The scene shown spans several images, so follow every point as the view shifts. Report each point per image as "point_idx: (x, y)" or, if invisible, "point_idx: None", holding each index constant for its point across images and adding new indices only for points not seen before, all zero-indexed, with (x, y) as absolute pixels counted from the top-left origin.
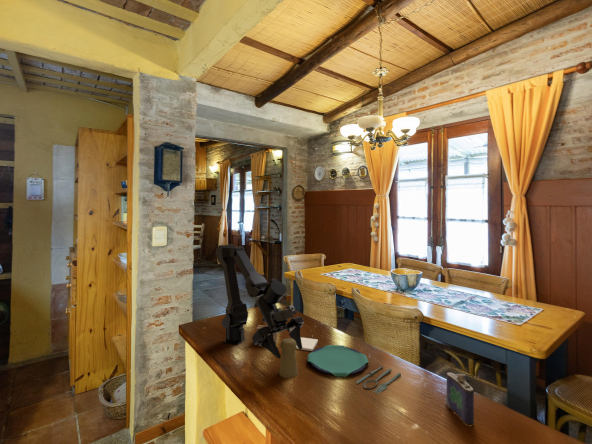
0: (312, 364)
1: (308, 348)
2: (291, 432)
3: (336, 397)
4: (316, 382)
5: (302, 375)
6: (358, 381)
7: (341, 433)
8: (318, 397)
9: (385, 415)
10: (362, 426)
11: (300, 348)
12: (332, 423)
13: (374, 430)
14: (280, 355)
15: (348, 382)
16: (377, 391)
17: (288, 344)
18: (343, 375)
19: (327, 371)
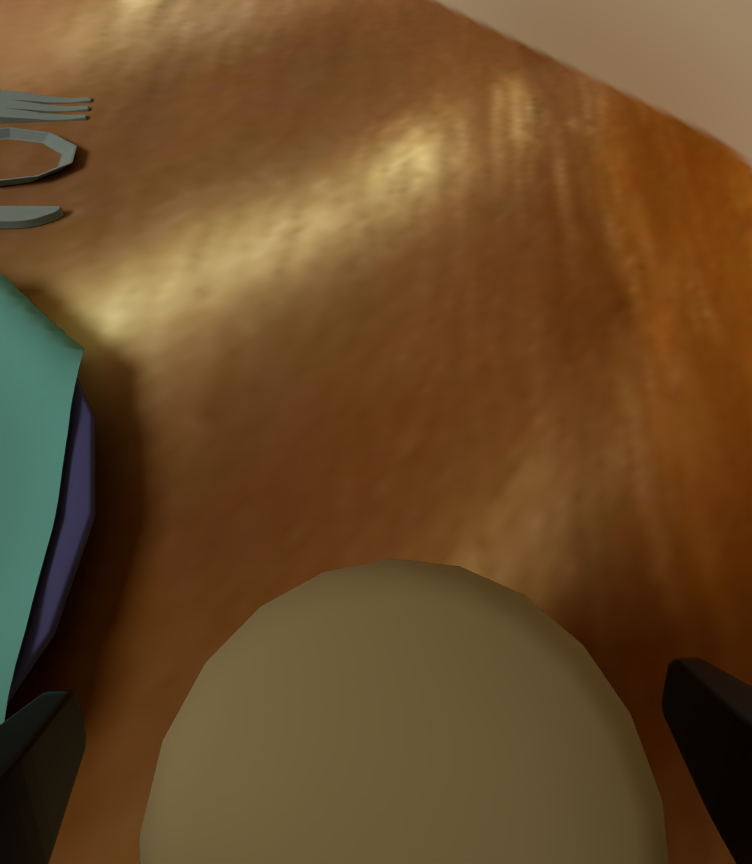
0: (45, 636)
1: None
2: (747, 183)
3: (313, 212)
4: (272, 415)
5: None
6: (24, 212)
7: (521, 64)
8: (415, 278)
9: (244, 18)
10: (402, 39)
11: (75, 730)
12: (511, 113)
13: (379, 8)
14: (693, 667)
15: (78, 261)
16: (57, 109)
17: (539, 623)
18: (29, 301)
19: (56, 436)
